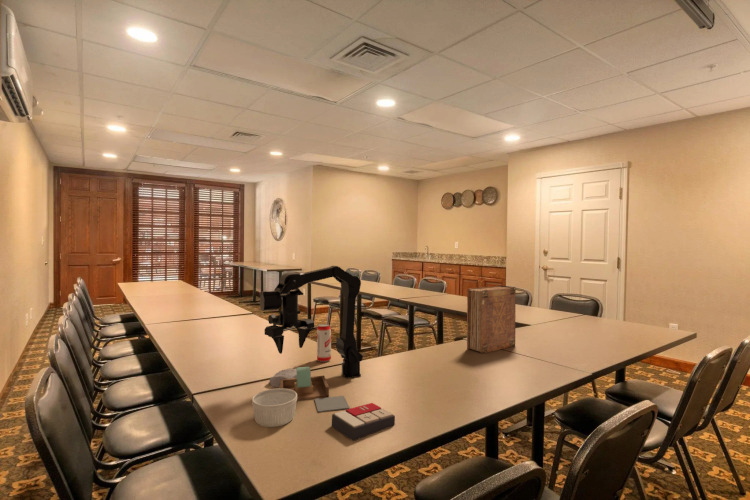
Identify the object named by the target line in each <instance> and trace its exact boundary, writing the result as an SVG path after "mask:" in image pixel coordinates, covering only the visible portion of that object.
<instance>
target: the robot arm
mask: <svg viewBox="0 0 750 500" xmlns="http://www.w3.org/2000/svg"><path fill="white" fill-rule="evenodd" d="M329 278H334V279H335V280H336V282H338V283H340V289H341V293H342V296H343V306H342V307H343V309H342V325H341V327H342V328H341V334H340V335H339V337H336V338H335V343H336V344H335V348H336V351H337V352H338V354H339V355H340V357H341V359H342V358H343V359H342V363H341V374H342V375H343V377H344V378H346V379H347V378H357V377H358V378H359V377H360V378H361V377H362V374H361V363H360V362H362V361H363V358H364V357H363V354H362V353H360V352H359V350H358V345H357V344H358V343H357V340H356V337H355V323H356V322H355V319H356V304H357V303H356V302H357V297H358V295H359V293H360V291H361V287H362V281H361V279H360V277H358V276H355V275H352V274H351V273H349V272H347V271H346V270H344V269H342V267H340V266H339V265H331V266H328V267H324V268H319V269H315V270H310V271H306V272H286V273H283V274H282V275H281V276H280V278H279V282H278V284H277V285H276V287H275V288H274V290H270V291H269V290H263V291H261V294H260V297H259V298H260V299H259V307H260V310H261V311H262V312H265V311H266V312H267V311H274V310H275V311H277V310H279V309H280V308H281V310H279V313H278V314H277V315H276V314H275V313H274V314H270V315H268V317H267V319H268V320H267V321H268V324H269V325H268V326H266V327H265V328H264V335H265V336H267V337H270V338H272V340H273V342H274V343H275V346H276V348H277V351H278V353H279V354H281V355H282V353H283V350H284V341H285V334H284V332H287V331H291V330H295V329H296V330H297V333H298V346H299V348H300V349H302V348H303V347H304V344H305V342H306V340H307V338H308V336H309V333H310V332H311V331H312V329H314V328H315V321H314V320H313V319H311V318H302V319H300V318H299V315H300V314H301V310H299V297H298V296H303V295H305V294H304V293H303V292H302V291H301V289H300V288H301V287H304V286H305V285H306V284H309V283H313V282H317V281H321V280H325V279H329Z"/></svg>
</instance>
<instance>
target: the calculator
mask: <svg viewBox="0 0 750 500" xmlns="http://www.w3.org/2000/svg"><path fill="white" fill-rule="evenodd" d="M395 420H396V416H395V415H394V414H393V413H392V412H390V411H388V410H386V409H385V408H382V407H381V406H379V405H377V404H376V403H373V402H371V403H370V402H369V403H366V404H363V405H359V406H355V407H351V408H350V409H345V410H343V411H342V410H341V411H338V412H335V413H333V414H331V428H333V429H334V430H335V431H337V432H339V433H340V434H342V435H343V436H344V437H346V438H347V439H349V440H351V441H353V442H354V441H357V440H359V439H362V438H364V437H366V436H369V435H371V434H374V433H376V432H381V431H382V430H385V429H389V428H391V427H393V426H395V425H396V423H395V422H396V421H395Z"/></svg>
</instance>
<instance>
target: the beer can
mask: <svg viewBox="0 0 750 500" xmlns="http://www.w3.org/2000/svg"><path fill="white" fill-rule="evenodd" d="M316 359H317V361H318V362H320V363H326V362H330V360H331V359H332V329H331V326H330V324H329V323H319V324H318V326H317V327H316Z"/></svg>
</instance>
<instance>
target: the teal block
mask: <svg viewBox="0 0 750 500" xmlns="http://www.w3.org/2000/svg"><path fill="white" fill-rule="evenodd" d="M296 369H297V387H298V388H299V387H309V386H311V377H312V374H311V373H312V372H311V367H310V366H303V367H301V366H300V367H296Z"/></svg>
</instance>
